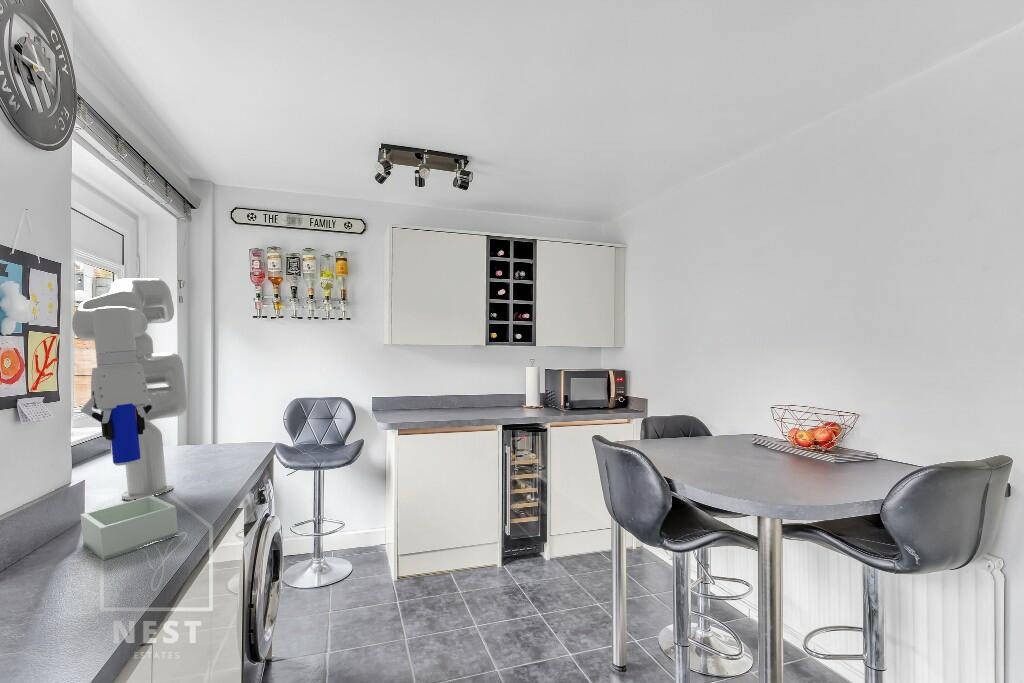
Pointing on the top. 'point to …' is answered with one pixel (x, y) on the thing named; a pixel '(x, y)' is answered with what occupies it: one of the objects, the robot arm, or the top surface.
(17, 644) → the top surface
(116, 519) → the crate
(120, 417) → the beverage can
